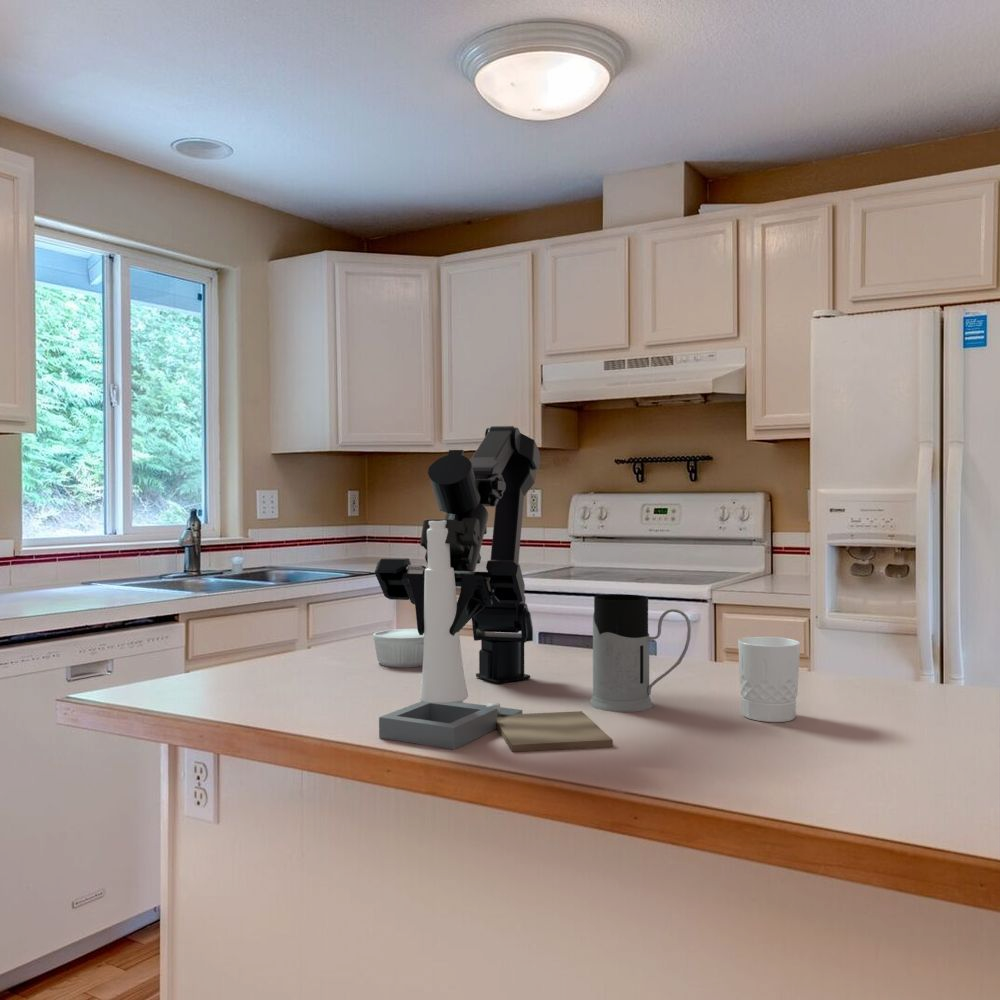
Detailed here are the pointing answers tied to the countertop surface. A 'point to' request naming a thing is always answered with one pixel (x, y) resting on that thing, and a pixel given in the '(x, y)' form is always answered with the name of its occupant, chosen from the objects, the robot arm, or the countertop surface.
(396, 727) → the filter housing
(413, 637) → the ramekin
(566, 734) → the walnut pad
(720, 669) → the countertop surface
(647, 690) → the glass holder
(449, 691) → the cosmetic bottle
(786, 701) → the white cup
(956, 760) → the countertop surface
